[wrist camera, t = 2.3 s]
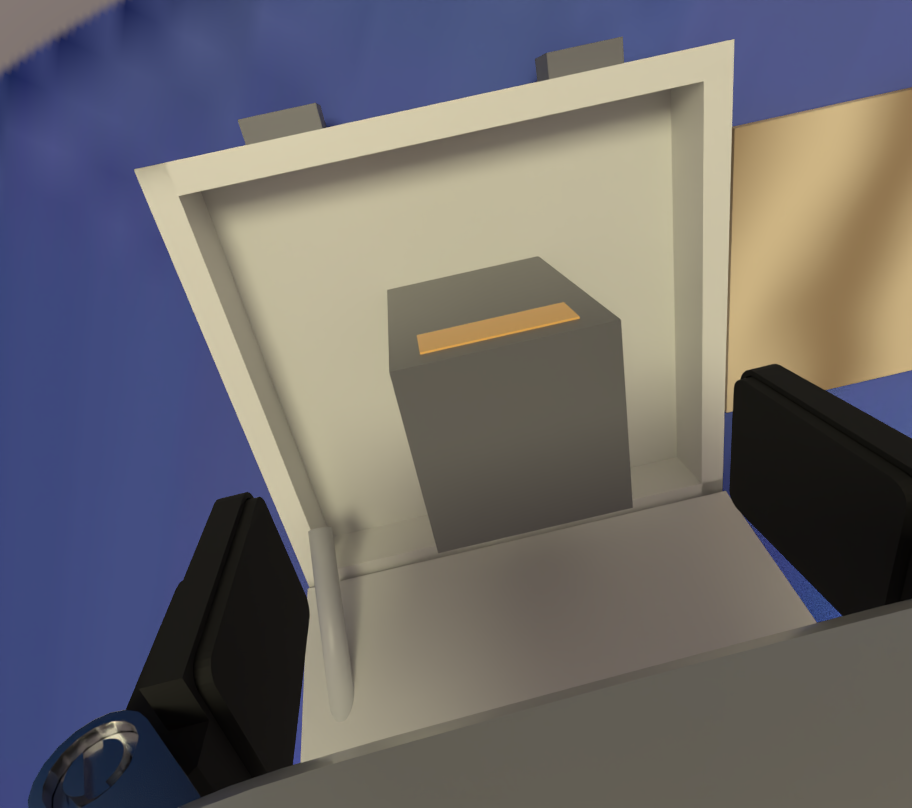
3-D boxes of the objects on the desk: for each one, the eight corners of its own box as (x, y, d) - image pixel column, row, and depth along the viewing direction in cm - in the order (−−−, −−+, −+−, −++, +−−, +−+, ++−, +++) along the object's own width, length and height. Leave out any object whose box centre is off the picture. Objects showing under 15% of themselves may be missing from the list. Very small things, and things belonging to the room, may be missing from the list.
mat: (1026, 62, 18) (1046, 59, 17) (960, 350, 22) (974, 355, 22) (724, 128, 18) (734, 128, 17) (718, 406, 22) (726, 412, 22)
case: (686, 28, 16) (1805, -370, 3) (689, 526, 25) (1023, 952, 12) (159, 142, 16) (-751, 166, 3) (342, 608, 24) (297, 1136, 11)
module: (538, 254, 18) (620, 317, 12) (555, 394, 20) (633, 509, 14) (386, 288, 18) (388, 370, 12) (421, 424, 20) (438, 554, 14)
